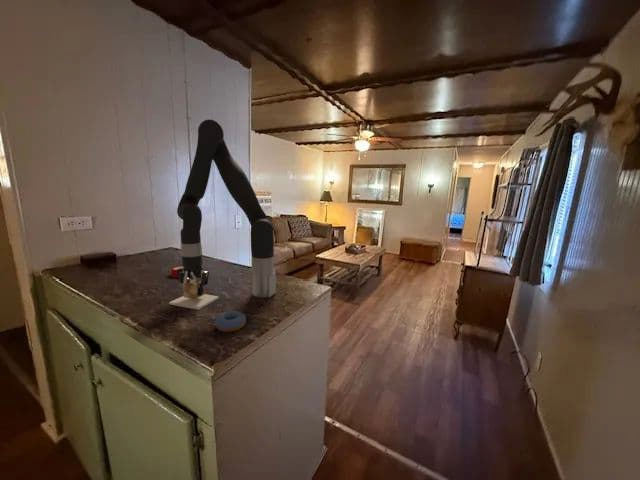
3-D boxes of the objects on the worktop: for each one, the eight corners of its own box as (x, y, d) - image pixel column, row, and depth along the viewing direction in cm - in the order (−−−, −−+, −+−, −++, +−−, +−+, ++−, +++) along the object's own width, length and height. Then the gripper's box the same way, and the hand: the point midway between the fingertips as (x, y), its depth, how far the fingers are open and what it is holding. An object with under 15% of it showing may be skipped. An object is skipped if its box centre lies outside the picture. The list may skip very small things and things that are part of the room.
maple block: (204, 294, 114) (204, 281, 113) (194, 299, 109) (194, 286, 108) (193, 292, 115) (193, 280, 114) (183, 297, 110) (182, 284, 109)
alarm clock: (181, 264, 152) (199, 262, 145) (184, 275, 153) (202, 273, 146) (163, 268, 143) (182, 266, 136) (166, 280, 143) (185, 279, 137)
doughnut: (208, 329, 90) (208, 316, 90) (228, 317, 100) (229, 305, 99) (232, 338, 87) (233, 324, 86) (251, 325, 96) (252, 313, 96)
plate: (218, 298, 116) (218, 296, 116) (198, 309, 105) (198, 307, 104) (191, 293, 120) (191, 291, 120) (169, 304, 109) (169, 302, 109)
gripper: (213, 253, 110) (215, 293, 113) (184, 250, 114) (187, 288, 117) (199, 257, 103) (202, 300, 106) (169, 254, 107) (172, 295, 110)
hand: (194, 294), depth 112 cm, fingers closed on maple block, 5 cm apart
